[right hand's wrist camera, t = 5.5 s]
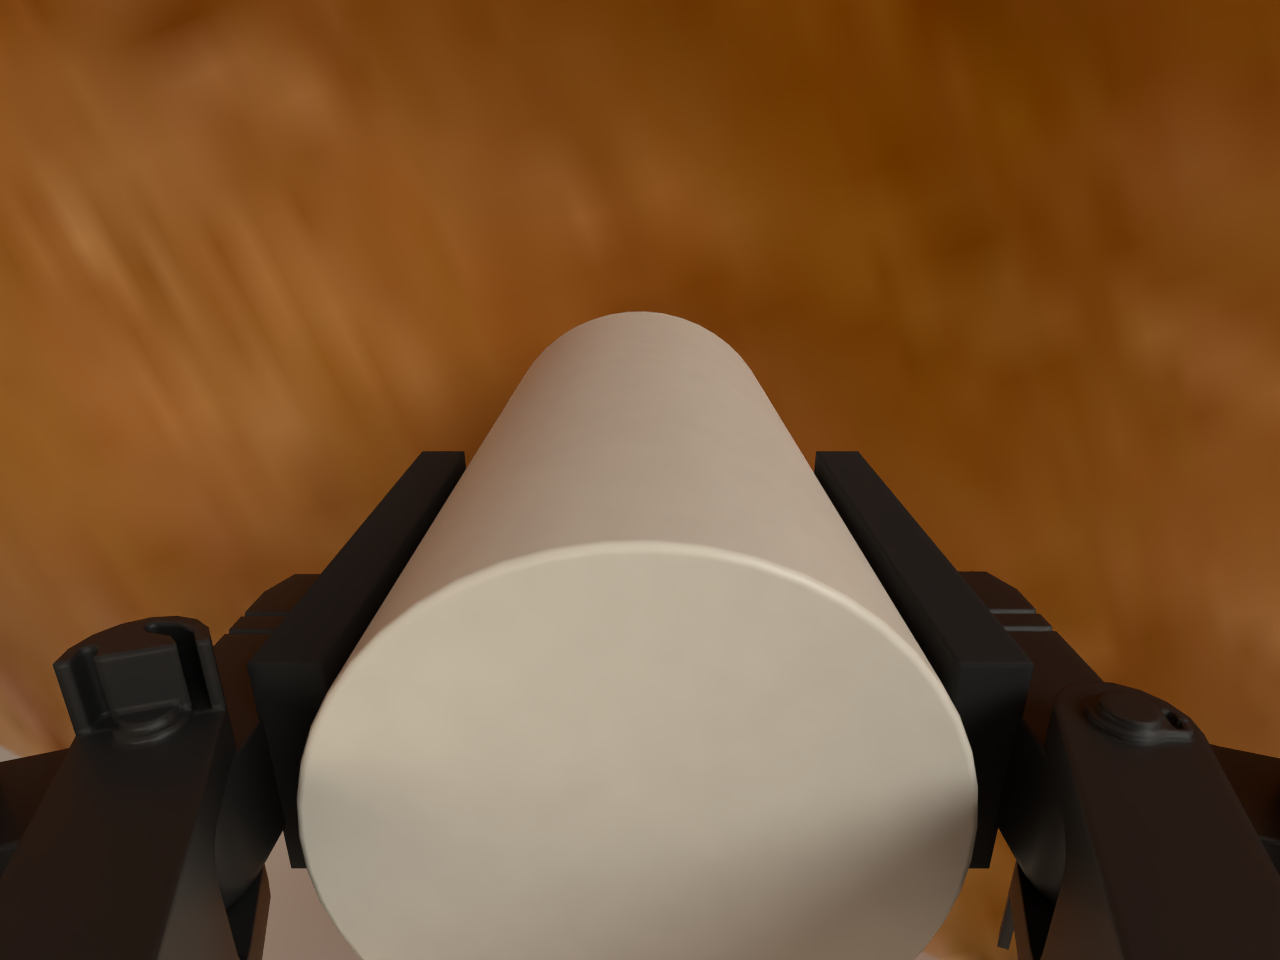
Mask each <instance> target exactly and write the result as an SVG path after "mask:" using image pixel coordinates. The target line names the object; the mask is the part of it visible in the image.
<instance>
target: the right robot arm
mask: <svg viewBox="0 0 1280 960" xmlns="http://www.w3.org/2000/svg"><path fill="white" fill-rule="evenodd" d="M465 470H466V465H465V454H464V451H422V453H421V454H420V455H419V456H418V457H417V459H416V460H415V461H414V462H413V463H412V465H411V466H410V467H409V468H408V469H407V471H406V472H405V473H404V474H403V476H402V477H401V478H400V479H399V480H398V482H397V483H396V484H395V485H394V486H393V488H392V489H391V490H390V491H389V492H388V494H387V495H386V496H385V497H384V498H383V500H382V501H381V502H380V503H379V505H378V506H377V507H376V508H375V509H374V511H373V512H372V513H371V514H370V515H369V517H368V518H367V519H366V520H365V521H364V523H363V524H362V525H361V526H360V527H359V529H358V530H357V531H356V532H355V533H354V535H353V536H352V537H351V538H350V540H349V541H348V542H347V543H346V544H345V546H344V547H343V548H342V549H341V550H340V552H339V553H338V554H337V555H336V556H335V558H334V559H333V560H332V561H331V562H330V564H329V565H328V566H327V567H326V568H325V570H324V571H323V572H322V573H321V574H294V575H293V576H291V577H289V578H288V579H286V580H284V581H282V582H281V583H279V584H277V585H275V586H274V587H272V588H270V589H268V590H267V591H265V592H264V593H263V594H262V595H261V596H260V597H259V598H258V599H257V600H256V601H255V602H254V604H253V605H252V606H251V607H250V608H249V609H248V610H247V611H246V612H245V617H240V619H239V620H238V621H237V622H236V623H235V624H234V625H233V626H232V627H231V628H230V629H229V634H225V635H224V636H223V637H222V638H221V639H220V640H219V641H218V642H217V643H216V644H215V645H214V646H213V645H212V640H211V636H210V632H209V628H208V627H207V626H206V625H204V624H203V623H201V622H200V621H199V620H197V619H192V618H186V617H180V616H167V617H151V618H146V619H142V620H137V621H133V622H128V623H124V624H120V625H118V626H115V627H112V628H110V629H107V630H104V631H102V632H99V633H96V634H94V635H92V636H90V637H88V638H86V639H85V640H83V641H81V642H80V643H78V644H76V645H74V646H73V647H71V648H69V649H68V650H67V651H66V652H65V653H64V654H63V655H62V656H61V657H60V658H59V659H58V660H57V661H56V662H55V663H54V664H53V667H54V670H55V673H56V676H57V679H58V682H59V685H60V688H61V691H62V695H63V698H64V701H65V704H66V707H67V710H68V713H69V716H70V719H71V722H72V725H73V728H74V731H75V734H76V737H75V739H74V741H73V742H72V744H71V746H70V748H67V749H63V750H59V751H54V752H49V753H44V754H39V755H34V756H29V757H24V758H19V759H14V760H9V761H4V762H0V960H262V955H263V948H264V941H265V934H266V926H267V919H268V912H269V904H270V897H271V896H270V889H269V881H268V876H267V872H266V868H265V864H264V863H265V861H266V860H267V858H268V856H269V854H270V852H271V851H272V849H273V847H274V845H275V844H276V842H277V840H278V838H279V836H280V835H281V833H282V831H283V832H284V837H285V841H286V846H287V850H288V855H289V859H290V864H291V868H307V867H306V863H305V859H304V855H303V851H302V846H301V842H300V838H299V826H298V810H297V792H298V783H299V773H300V764H301V759H302V755H303V752H304V748H305V745H306V742H307V738H308V735H309V731H310V728H311V725H312V723H313V721H314V719H315V717H316V715H317V713H318V711H319V709H320V706H321V704H322V702H323V700H324V698H325V696H326V694H327V692H328V690H329V689H330V687H331V686H332V684H333V682H334V681H335V679H336V678H337V676H338V674H339V673H340V671H341V670H342V668H343V666H344V665H345V663H346V661H347V660H348V658H349V657H350V655H351V653H352V652H353V650H354V649H355V647H356V645H357V644H358V642H359V641H360V639H361V637H362V636H363V634H364V633H365V631H366V629H367V628H368V626H369V624H370V623H371V621H372V620H373V618H374V616H375V615H376V613H377V612H378V610H379V608H380V607H381V605H382V604H383V602H384V600H385V599H386V597H387V596H388V594H389V592H390V591H391V589H392V587H393V586H394V584H395V583H396V581H397V579H398V578H399V576H400V575H401V573H402V571H403V570H404V568H405V567H406V565H407V563H408V562H409V560H410V559H411V557H412V555H413V554H414V552H415V551H416V549H417V547H418V546H419V544H420V542H421V541H422V539H423V538H424V536H425V534H426V533H427V531H428V530H429V528H430V526H431V525H432V523H433V522H434V520H435V518H436V517H437V515H438V514H439V512H440V510H441V509H442V507H443V505H444V504H445V502H446V501H447V499H448V497H449V496H450V494H451V493H452V491H453V489H454V488H455V486H456V485H457V483H458V481H459V480H460V478H461V477H462V475H463V473H464V472H465ZM814 474H815V476H816V478H817V479H818V481H819V482H820V484H821V486H822V487H823V489H824V491H825V492H826V494H827V496H828V497H829V499H830V500H831V502H832V504H833V505H834V507H835V509H836V510H837V512H838V514H839V515H840V517H841V519H842V520H843V522H844V523H845V525H846V527H847V528H848V530H849V532H850V533H851V535H852V537H853V538H854V540H855V542H856V543H857V545H858V546H859V548H860V550H861V551H862V553H863V555H864V556H865V558H866V560H867V561H868V563H869V564H870V566H871V568H872V569H873V571H874V573H875V574H876V576H877V578H878V579H879V581H880V583H881V584H882V586H883V587H884V589H885V591H886V592H887V594H888V596H889V597H890V599H891V601H892V602H893V604H894V605H895V607H896V609H897V610H898V612H899V614H900V615H901V617H902V619H903V620H904V622H905V624H906V625H907V627H908V628H909V630H910V632H911V633H912V635H913V637H914V638H915V640H916V642H917V643H918V645H919V646H920V648H921V650H922V651H923V653H924V655H925V656H926V658H927V660H928V661H929V663H930V665H931V666H932V668H933V669H934V671H935V673H936V674H937V676H938V678H939V679H940V681H941V683H942V684H943V686H944V688H945V690H946V692H947V694H948V695H949V697H950V699H951V701H952V703H953V704H954V706H955V708H956V710H957V712H958V713H959V715H960V718H961V721H962V723H963V726H964V729H965V732H966V735H967V738H968V741H969V744H970V746H971V749H972V753H973V759H974V766H975V772H976V778H977V784H978V825H977V832H976V838H975V843H974V849H973V854H972V860H971V863H970V866H969V868H989V866H990V862H991V857H992V853H993V848H994V844H995V839H996V835H997V830H998V828H999V830H1000V831H1001V833H1002V835H1003V837H1004V839H1005V840H1006V842H1007V844H1008V846H1009V847H1010V849H1011V851H1012V853H1013V855H1014V856H1015V858H1016V864H1015V868H1014V872H1013V876H1012V881H1011V885H1010V889H1009V893H1008V897H1007V902H1006V906H1005V910H1004V914H1003V918H1002V923H1001V927H1000V932H999V939H998V946H997V947H1001V948H1005V949H1008V950H1009V946H1010V942H1011V938H1012V933H1013V932H1015V939H1016V946H1017V953H1018V960H1280V758H1275V757H1270V756H1265V755H1260V754H1255V753H1249V752H1244V751H1239V750H1234V749H1229V748H1224V747H1219V746H1215V745H1211V744H1209V743H1208V741H1207V739H1206V737H1205V735H1204V734H1203V733H1202V732H1201V730H1200V729H1199V728H1198V727H1197V726H1196V724H1195V723H1194V722H1193V721H1192V720H1191V719H1190V718H1189V717H1188V716H1187V715H1185V714H1184V713H1182V712H1181V711H1179V710H1178V709H1176V708H1175V707H1173V706H1172V705H1171V704H1169V703H1168V702H1166V701H1163V700H1161V699H1159V698H1157V697H1154V696H1152V695H1150V694H1148V693H1145V692H1143V691H1141V690H1138V689H1134V688H1130V687H1126V686H1122V685H1119V684H1115V683H1108V682H1103V681H1102V679H1101V678H1100V677H1099V676H1098V675H1097V674H1096V673H1095V672H1094V671H1093V670H1092V669H1091V668H1090V667H1089V666H1088V665H1087V664H1086V662H1085V661H1084V660H1083V659H1082V658H1081V657H1080V656H1079V655H1078V654H1077V653H1076V652H1075V651H1074V650H1073V649H1072V648H1071V646H1070V645H1069V644H1068V643H1067V642H1066V641H1065V640H1064V639H1063V638H1062V637H1061V636H1060V635H1059V634H1058V633H1057V632H1056V631H1052V626H1051V625H1050V624H1049V623H1048V622H1047V621H1046V620H1045V619H1044V618H1043V617H1042V616H1041V615H1040V614H1036V609H1035V608H1034V607H1033V606H1032V605H1031V604H1030V603H1029V602H1028V601H1027V600H1026V599H1025V598H1024V596H1023V595H1022V594H1021V593H1020V592H1019V591H1018V590H1017V589H1015V588H1014V587H1012V586H1010V585H1008V584H1007V583H1005V582H1003V581H1001V580H1000V579H998V578H996V577H994V576H993V575H991V574H989V573H987V572H958V571H957V570H956V569H955V568H954V567H953V565H952V564H951V563H950V562H949V561H948V559H947V558H946V557H945V556H944V555H943V553H942V552H941V551H940V550H939V549H938V547H937V546H936V545H935V544H934V542H933V541H932V540H931V539H930V538H929V536H928V535H927V534H926V533H925V532H924V530H923V529H922V528H921V527H920V526H919V524H918V523H917V522H916V521H915V520H914V518H913V517H912V516H911V515H910V514H909V512H908V511H907V510H906V509H905V507H904V506H903V505H902V504H901V503H900V501H899V500H898V499H897V498H896V497H895V495H894V494H893V493H892V492H891V491H890V489H889V488H888V487H887V486H886V485H885V483H884V482H883V481H882V480H881V479H880V477H879V476H878V475H877V474H876V472H875V471H874V470H873V469H872V468H871V466H870V465H869V464H868V463H867V462H866V460H865V459H864V458H863V457H862V456H861V454H860V453H859V452H858V451H816V460H815V471H814Z"/></svg>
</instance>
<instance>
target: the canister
mask: <svg viewBox="0 0 1280 960" xmlns="http://www.w3.org/2000/svg"><path fill="white" fill-rule="evenodd" d="M297 810H298V826H299V838H300V842H301V846H302V851H303V855H304V859H305V863H306V867H307V871H308V873H309V876H310V878H311V880H312V883H313V885H314V888H315V890H316V893H317V895H318V897H319V900H320V902H321V904H322V905H323V907H324V909H325V910H326V912H327V914H328V915H329V917H330V919H331V920H332V922H333V924H334V925H335V927H336V929H337V930H338V932H339V933H340V934H341V935H342V937H343V938H344V939H345V940H346V941H347V943H348V944H349V945H350V946H351V948H352V949H353V950H354V951H355V953H356V954H357V955H358V956H359V958H360V959H361V960H914V959H915V958H916V957H917V956H918V955H919V954H920V953H921V952H922V951H923V950H924V948H925V947H926V946H927V944H928V943H929V942H930V940H931V939H932V937H933V936H934V935H935V933H936V932H937V931H938V929H939V928H940V927H941V925H942V924H943V923H944V921H945V919H946V917H947V915H948V913H949V912H950V910H951V908H952V906H953V904H954V902H955V901H956V899H957V897H958V895H959V893H960V891H961V888H962V885H963V882H964V880H965V877H966V874H967V871H968V868H969V866H970V863H971V860H972V854H973V849H974V843H975V838H976V832H977V825H978V784H977V778H976V772H975V766H974V759H973V753H972V749H971V746H970V744H969V741H968V738H967V735H966V732H965V729H964V726H963V723H962V721H961V718H960V715H959V713H958V712H957V710H956V708H955V706H954V704H953V703H952V701H951V699H950V697H949V695H948V694H947V692H946V690H945V688H944V686H943V684H942V683H941V681H940V679H939V678H938V676H937V674H936V673H935V671H934V669H933V668H932V666H931V665H930V663H929V661H928V660H927V658H926V656H925V655H924V653H923V651H922V650H921V648H920V646H919V645H918V643H917V642H916V640H915V638H914V637H913V635H912V633H911V632H910V630H909V628H908V627H907V625H906V624H905V622H904V620H903V619H902V617H901V615H900V614H899V612H898V610H897V609H896V607H895V605H894V604H893V602H892V601H891V599H890V597H889V596H888V594H887V592H886V591H885V589H884V587H883V586H882V584H881V583H880V581H879V579H878V578H877V576H876V574H875V573H874V571H873V569H872V568H871V566H870V564H869V563H868V561H867V560H866V558H865V556H864V555H863V553H862V551H861V550H860V548H859V546H858V545H857V543H856V542H855V540H854V538H853V537H852V535H851V533H850V532H849V530H848V528H847V527H846V525H845V523H844V522H843V520H842V519H841V517H840V515H839V514H838V512H837V510H836V509H835V507H834V505H833V504H832V502H831V500H830V499H829V497H828V496H827V494H826V492H825V491H824V489H823V487H822V486H821V484H820V482H819V481H818V479H817V478H816V476H815V474H814V473H813V471H812V469H811V468H810V466H809V464H808V463H807V461H806V459H805V458H804V456H803V455H802V453H801V451H800V450H799V448H798V446H797V445H796V443H795V441H794V440H793V438H792V437H791V435H790V433H789V432H788V430H787V428H786V427H785V425H784V423H783V422H782V420H781V418H780V417H779V415H778V414H777V412H776V410H775V409H774V407H773V405H772V404H771V402H770V400H769V399H768V397H767V396H766V394H765V392H764V391H763V389H762V387H761V386H760V384H759V382H758V381H757V379H756V377H755V376H754V374H753V373H752V371H751V370H750V368H749V367H748V366H747V364H746V363H745V362H744V360H743V359H742V358H741V356H740V355H739V354H738V353H737V352H736V351H735V350H734V349H733V348H732V347H731V346H730V345H729V344H727V343H726V342H725V341H723V340H722V339H721V338H719V337H718V336H717V335H715V334H714V333H712V332H710V331H709V330H707V329H705V328H703V327H702V326H700V325H698V324H695V323H693V322H690V321H688V320H685V319H683V318H679V317H675V316H671V315H667V314H662V313H654V312H624V313H618V314H611V315H607V316H603V317H600V318H597V319H593V320H590V321H588V322H586V323H584V324H581V325H579V326H577V327H575V328H573V329H572V330H570V331H568V332H567V333H565V334H564V335H562V336H560V337H559V338H558V339H557V340H555V341H554V342H553V343H552V344H551V345H549V346H548V347H547V348H546V349H545V350H544V351H543V352H542V353H541V354H540V355H539V356H538V358H537V359H536V360H535V361H534V362H533V364H532V365H531V367H530V368H529V369H528V371H527V372H526V374H525V375H524V377H523V378H522V380H521V382H520V383H519V385H518V386H517V388H516V390H515V391H514V393H513V395H512V396H511V398H510V399H509V401H508V403H507V404H506V406H505V407H504V409H503V411H502V412H501V414H500V415H499V417H498V419H497V420H496V422H495V423H494V425H493V427H492V428H491V430H490V432H489V433H488V435H487V436H486V438H485V440H484V441H483V443H482V444H481V446H480V448H479V449H478V451H477V452H476V454H475V456H474V457H473V459H472V460H471V462H470V464H469V465H468V467H467V468H466V470H465V472H464V473H463V475H462V477H461V478H460V480H459V481H458V483H457V485H456V486H455V488H454V489H453V491H452V493H451V494H450V496H449V497H448V499H447V501H446V502H445V504H444V505H443V507H442V509H441V510H440V512H439V514H438V515H437V517H436V518H435V520H434V522H433V523H432V525H431V526H430V528H429V530H428V531H427V533H426V534H425V536H424V538H423V539H422V541H421V542H420V544H419V546H418V547H417V549H416V551H415V552H414V554H413V555H412V557H411V559H410V560H409V562H408V563H407V565H406V567H405V568H404V570H403V571H402V573H401V575H400V576H399V578H398V579H397V581H396V583H395V584H394V586H393V587H392V589H391V591H390V592H389V594H388V596H387V597H386V599H385V600H384V602H383V604H382V605H381V607H380V608H379V610H378V612H377V613H376V615H375V616H374V618H373V620H372V621H371V623H370V624H369V626H368V628H367V629H366V631H365V633H364V634H363V636H362V637H361V639H360V641H359V642H358V644H357V645H356V647H355V649H354V650H353V652H352V653H351V655H350V657H349V658H348V660H347V661H346V663H345V665H344V666H343V668H342V670H341V671H340V673H339V674H338V676H337V678H336V679H335V681H334V682H333V684H332V686H331V687H330V689H329V690H328V692H327V694H326V696H325V698H324V700H323V702H322V704H321V706H320V709H319V711H318V713H317V715H316V717H315V719H314V721H313V723H312V725H311V728H310V731H309V735H308V738H307V742H306V745H305V748H304V752H303V755H302V759H301V764H300V773H299V783H298V792H297Z"/></svg>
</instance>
